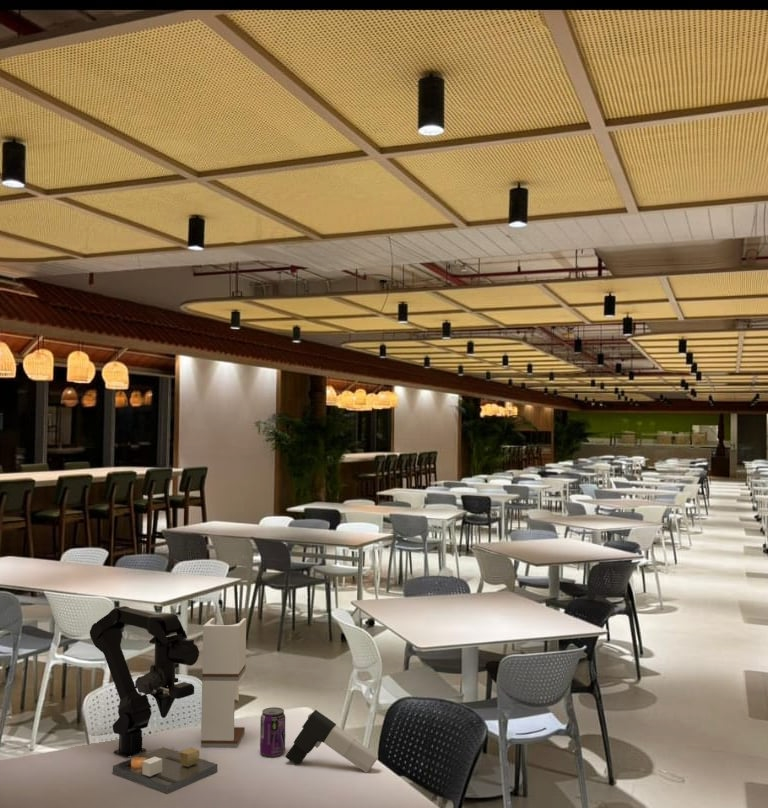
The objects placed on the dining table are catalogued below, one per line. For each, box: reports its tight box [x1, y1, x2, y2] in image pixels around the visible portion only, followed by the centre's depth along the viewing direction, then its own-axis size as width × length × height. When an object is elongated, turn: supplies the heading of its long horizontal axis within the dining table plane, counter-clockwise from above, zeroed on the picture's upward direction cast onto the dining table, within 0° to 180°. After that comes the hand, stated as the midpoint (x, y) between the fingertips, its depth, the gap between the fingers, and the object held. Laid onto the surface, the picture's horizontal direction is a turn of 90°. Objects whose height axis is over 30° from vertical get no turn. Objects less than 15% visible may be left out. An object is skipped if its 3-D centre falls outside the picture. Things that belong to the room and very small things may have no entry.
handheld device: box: [285, 709, 379, 774], centre depth 217 cm, size 4×22×15 cm, turn 75°
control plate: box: [112, 746, 218, 794], centre depth 213 cm, size 22×17×2 cm
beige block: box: [142, 757, 162, 777], centre depth 207 cm, size 3×4×3 cm
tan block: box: [179, 747, 200, 767], centre depth 213 cm, size 3×4×3 cm
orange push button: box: [131, 756, 147, 770], centre depth 213 cm, size 4×4×3 cm
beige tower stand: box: [200, 617, 247, 749], centre depth 238 cm, size 11×11×35 cm
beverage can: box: [259, 706, 286, 757], centre depth 227 cm, size 7×7×12 cm
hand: (163, 717), depth 221 cm, fingers closed
